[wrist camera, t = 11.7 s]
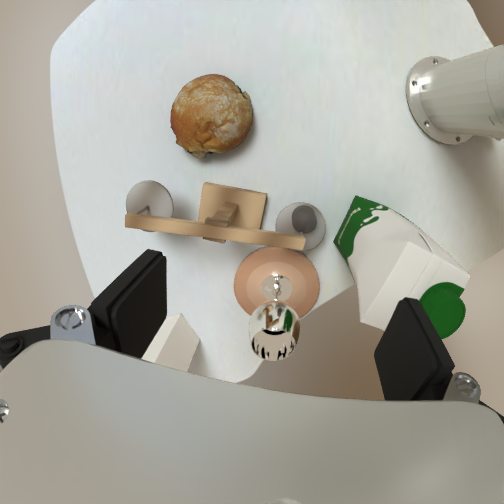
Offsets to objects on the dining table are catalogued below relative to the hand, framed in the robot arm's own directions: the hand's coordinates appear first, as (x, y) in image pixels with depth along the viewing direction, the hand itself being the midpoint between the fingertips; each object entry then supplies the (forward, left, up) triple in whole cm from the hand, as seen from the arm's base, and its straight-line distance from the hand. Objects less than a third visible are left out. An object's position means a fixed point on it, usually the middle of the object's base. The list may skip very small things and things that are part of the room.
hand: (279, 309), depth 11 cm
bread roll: (+10, -7, -27) cm, 30 cm away
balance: (+6, +4, -27) cm, 28 cm away
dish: (-2, +14, -27) cm, 30 cm away
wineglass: (-2, +14, -26) cm, 29 cm away
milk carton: (-12, +3, -27) cm, 30 cm away
